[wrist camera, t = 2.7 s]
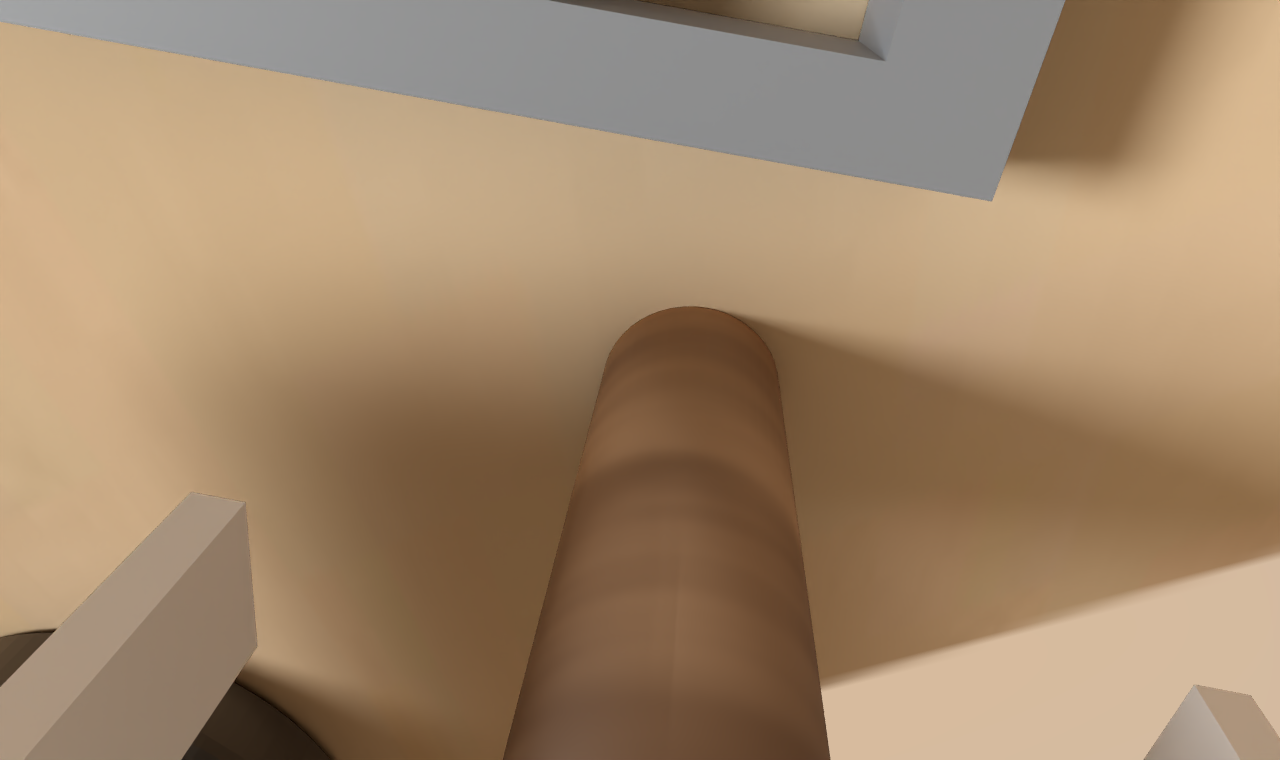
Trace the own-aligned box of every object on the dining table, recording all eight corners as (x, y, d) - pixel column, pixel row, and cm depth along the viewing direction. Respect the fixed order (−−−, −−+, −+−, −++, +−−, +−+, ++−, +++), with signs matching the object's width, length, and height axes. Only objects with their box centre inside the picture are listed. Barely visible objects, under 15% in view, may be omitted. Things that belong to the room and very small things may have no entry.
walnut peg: (756, 474, 20) (799, 1063, 10) (592, 444, 20) (455, 1002, 10) (797, 324, 18) (906, 851, 8) (616, 291, 18) (478, 777, 8)
